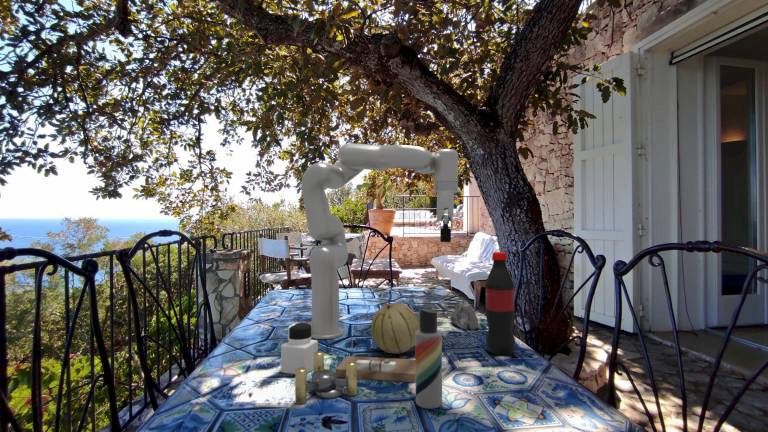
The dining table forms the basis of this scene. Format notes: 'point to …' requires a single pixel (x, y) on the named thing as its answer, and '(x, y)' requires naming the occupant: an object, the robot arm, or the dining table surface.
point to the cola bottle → (500, 307)
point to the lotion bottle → (428, 361)
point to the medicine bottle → (298, 349)
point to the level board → (380, 369)
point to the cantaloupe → (394, 328)
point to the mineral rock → (464, 316)
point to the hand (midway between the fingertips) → (445, 241)
